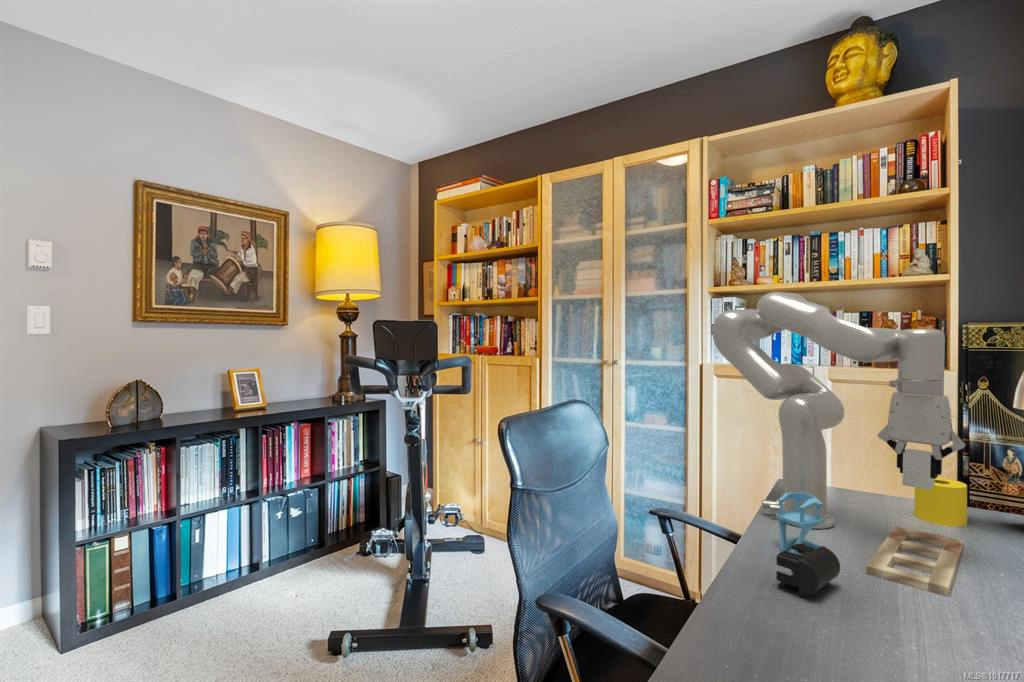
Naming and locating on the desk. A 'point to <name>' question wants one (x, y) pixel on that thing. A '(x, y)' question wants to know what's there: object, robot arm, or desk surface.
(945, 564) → the hole rail
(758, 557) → the desk surface
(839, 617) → the desk surface
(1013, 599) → the desk surface
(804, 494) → the chair
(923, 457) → the steel block
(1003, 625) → the desk surface
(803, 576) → the power tool battery
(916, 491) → the tape roll
